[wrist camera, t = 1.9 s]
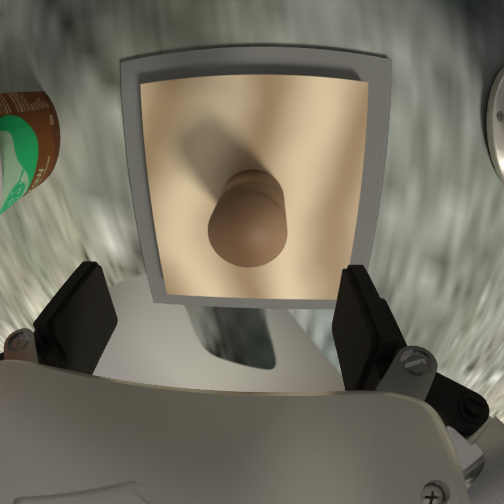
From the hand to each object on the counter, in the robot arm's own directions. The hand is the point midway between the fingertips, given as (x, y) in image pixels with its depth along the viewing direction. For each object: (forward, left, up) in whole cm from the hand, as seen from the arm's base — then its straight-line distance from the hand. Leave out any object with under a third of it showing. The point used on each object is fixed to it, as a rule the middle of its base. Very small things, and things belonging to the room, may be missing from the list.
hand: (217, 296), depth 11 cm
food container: (+17, -4, -12) cm, 21 cm away
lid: (-1, 0, -11) cm, 11 cm away
